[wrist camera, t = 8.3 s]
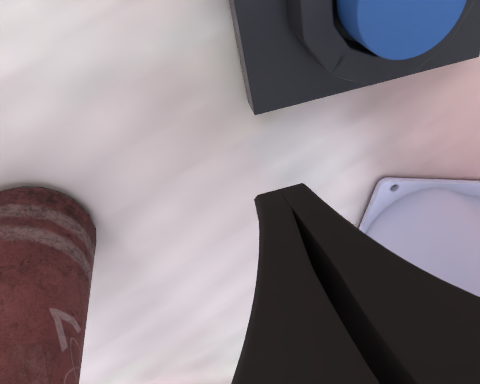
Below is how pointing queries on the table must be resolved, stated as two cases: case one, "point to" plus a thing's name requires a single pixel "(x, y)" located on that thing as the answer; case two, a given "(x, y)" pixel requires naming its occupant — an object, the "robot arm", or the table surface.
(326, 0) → the button base
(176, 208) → the table surface
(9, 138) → the table surface
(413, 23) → the blue button cap
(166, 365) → the table surface
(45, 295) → the can
